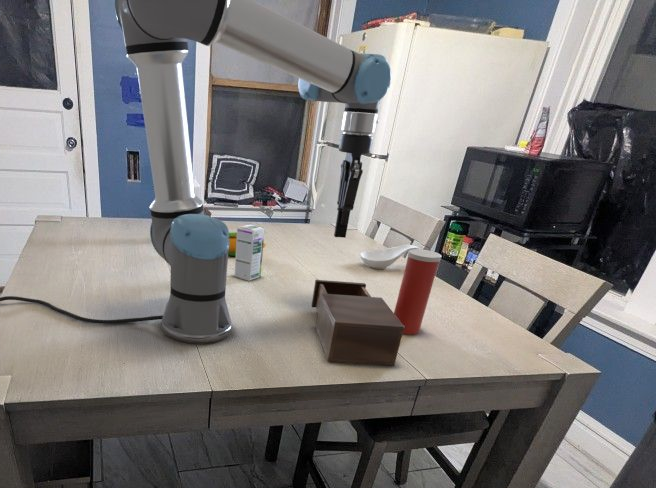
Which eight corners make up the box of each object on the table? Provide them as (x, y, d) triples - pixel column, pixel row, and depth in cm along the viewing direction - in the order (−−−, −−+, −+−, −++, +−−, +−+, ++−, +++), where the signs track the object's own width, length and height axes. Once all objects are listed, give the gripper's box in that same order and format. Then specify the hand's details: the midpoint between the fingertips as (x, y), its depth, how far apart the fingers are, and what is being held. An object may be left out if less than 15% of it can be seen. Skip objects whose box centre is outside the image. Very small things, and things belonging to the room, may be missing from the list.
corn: (206, 228, 160) (263, 229, 165) (204, 251, 164) (260, 250, 169) (211, 235, 154) (270, 236, 159) (209, 258, 158) (267, 258, 163)
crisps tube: (398, 335, 112) (418, 257, 103) (385, 323, 118) (403, 248, 109) (425, 335, 113) (447, 257, 105) (410, 323, 119) (431, 249, 110)
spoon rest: (367, 271, 157) (372, 249, 153) (352, 261, 167) (356, 240, 163) (432, 272, 162) (438, 250, 158) (414, 262, 172) (419, 241, 168)
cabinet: (315, 328, 112) (321, 293, 108) (373, 332, 112) (381, 297, 108) (327, 361, 98) (335, 322, 93) (394, 366, 98) (404, 326, 94)
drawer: (308, 299, 126) (312, 274, 123) (355, 302, 127) (361, 277, 124) (320, 330, 109) (325, 301, 106) (374, 333, 110) (381, 305, 106)
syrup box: (249, 281, 139) (254, 230, 132) (233, 276, 142) (237, 225, 135) (260, 277, 143) (265, 227, 136) (244, 272, 146) (248, 223, 139)
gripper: (380, 136, 107) (359, 243, 119) (366, 133, 118) (348, 231, 130) (346, 134, 107) (329, 241, 118) (336, 131, 118) (321, 229, 130)
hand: (339, 236), depth 124 cm, fingers closed
